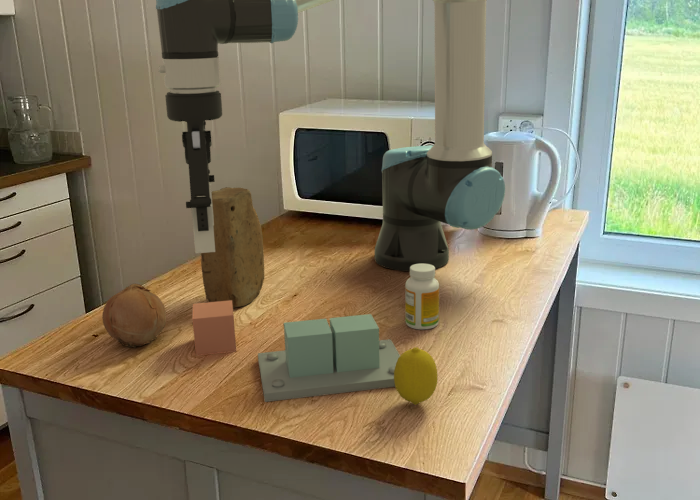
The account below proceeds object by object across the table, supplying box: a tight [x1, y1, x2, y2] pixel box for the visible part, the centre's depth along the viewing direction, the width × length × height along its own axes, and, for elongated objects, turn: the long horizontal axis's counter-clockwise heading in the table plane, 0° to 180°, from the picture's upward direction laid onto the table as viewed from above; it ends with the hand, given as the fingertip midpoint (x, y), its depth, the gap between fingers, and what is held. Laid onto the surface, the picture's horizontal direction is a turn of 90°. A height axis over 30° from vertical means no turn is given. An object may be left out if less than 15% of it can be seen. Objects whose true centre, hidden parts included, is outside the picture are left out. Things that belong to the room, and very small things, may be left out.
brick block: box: [191, 300, 237, 356], centre depth 109 cm, size 6×6×6 cm
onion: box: [101, 283, 167, 349], centre depth 110 cm, size 10×9×10 cm
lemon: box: [394, 346, 438, 406], centre depth 90 cm, size 6×6×8 cm
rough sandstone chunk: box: [200, 186, 265, 309], centre depth 124 cm, size 11×8×20 cm
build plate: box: [257, 313, 401, 403], centre depth 99 cm, size 20×12×7 cm, turn 101°
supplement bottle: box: [404, 263, 440, 330], centre depth 114 cm, size 5×5×10 cm
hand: (205, 238), depth 104 cm, fingers open, 13 cm apart
